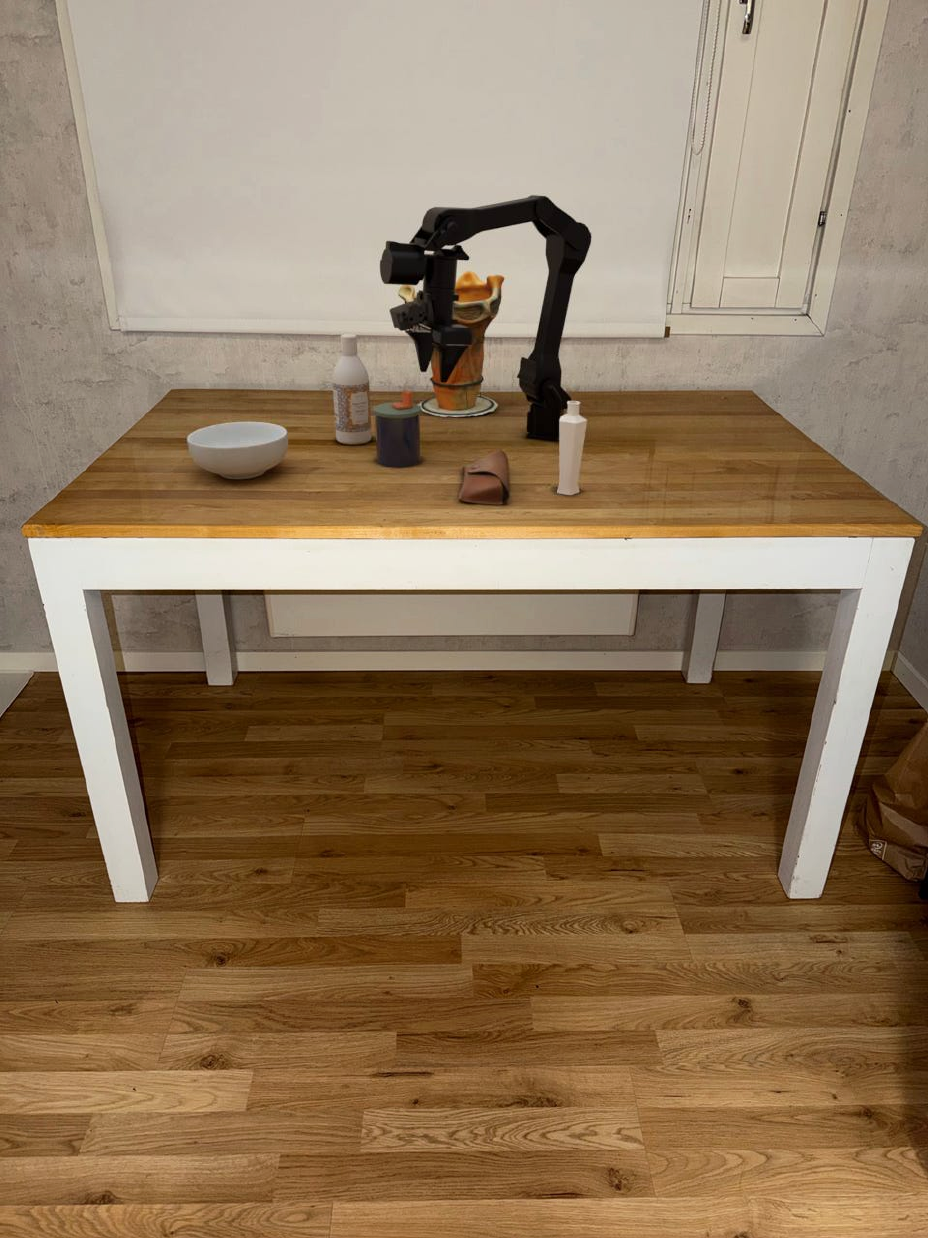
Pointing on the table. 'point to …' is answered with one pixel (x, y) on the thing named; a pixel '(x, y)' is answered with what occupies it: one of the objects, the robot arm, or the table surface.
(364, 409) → the bath foam
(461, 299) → the decorative vase
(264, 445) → the cereal bowl
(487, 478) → the sunglasses case
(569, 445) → the white tall faceted bottle
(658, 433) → the table surface
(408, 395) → the slider
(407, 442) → the travel cup
